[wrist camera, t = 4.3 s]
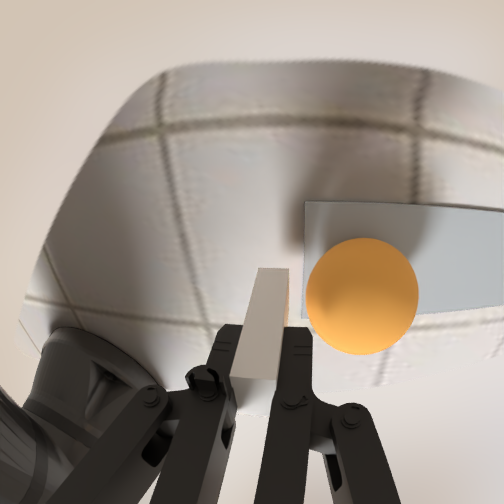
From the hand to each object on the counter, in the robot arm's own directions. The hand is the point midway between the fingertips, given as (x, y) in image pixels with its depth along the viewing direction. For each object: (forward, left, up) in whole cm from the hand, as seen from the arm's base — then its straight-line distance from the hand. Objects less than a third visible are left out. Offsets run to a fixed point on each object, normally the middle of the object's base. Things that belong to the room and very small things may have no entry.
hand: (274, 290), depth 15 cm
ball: (+5, 0, 0) cm, 5 cm away
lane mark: (+16, 0, -3) cm, 16 cm away
